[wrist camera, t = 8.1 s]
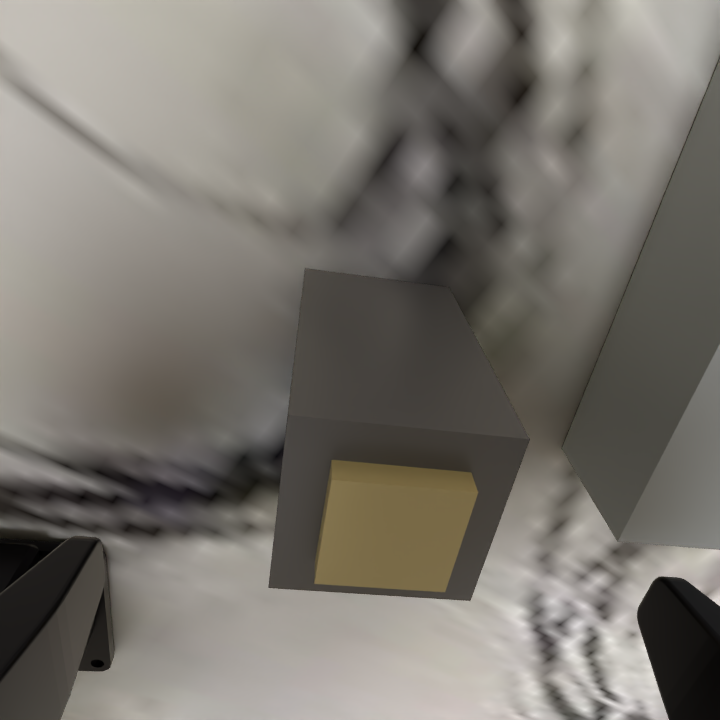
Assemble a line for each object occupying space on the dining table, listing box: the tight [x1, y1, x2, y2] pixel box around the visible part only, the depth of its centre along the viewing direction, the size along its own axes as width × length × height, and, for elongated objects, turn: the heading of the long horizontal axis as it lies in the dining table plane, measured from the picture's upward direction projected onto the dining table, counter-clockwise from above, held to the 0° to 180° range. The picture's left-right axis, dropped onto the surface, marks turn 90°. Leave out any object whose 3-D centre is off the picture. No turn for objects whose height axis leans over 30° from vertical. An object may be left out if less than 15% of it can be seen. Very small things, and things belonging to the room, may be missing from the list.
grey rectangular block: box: [268, 268, 530, 601], centre depth 13 cm, size 4×4×8 cm
